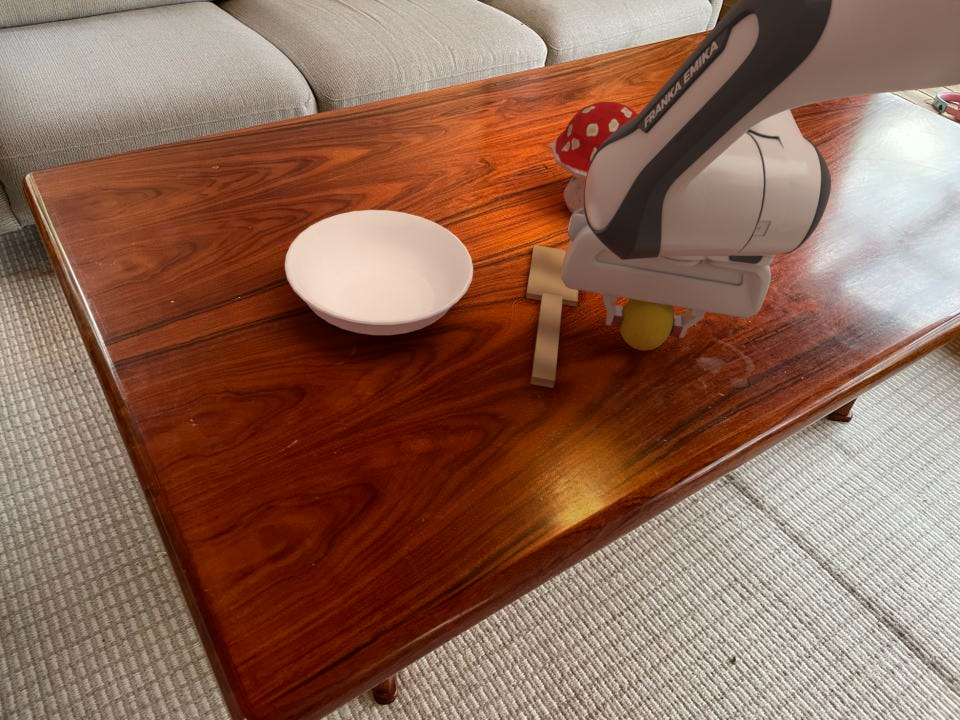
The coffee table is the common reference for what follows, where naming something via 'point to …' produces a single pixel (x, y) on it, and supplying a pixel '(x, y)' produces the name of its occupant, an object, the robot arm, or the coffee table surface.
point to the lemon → (646, 324)
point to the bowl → (378, 271)
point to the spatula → (548, 310)
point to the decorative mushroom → (586, 144)
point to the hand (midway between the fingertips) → (644, 328)
